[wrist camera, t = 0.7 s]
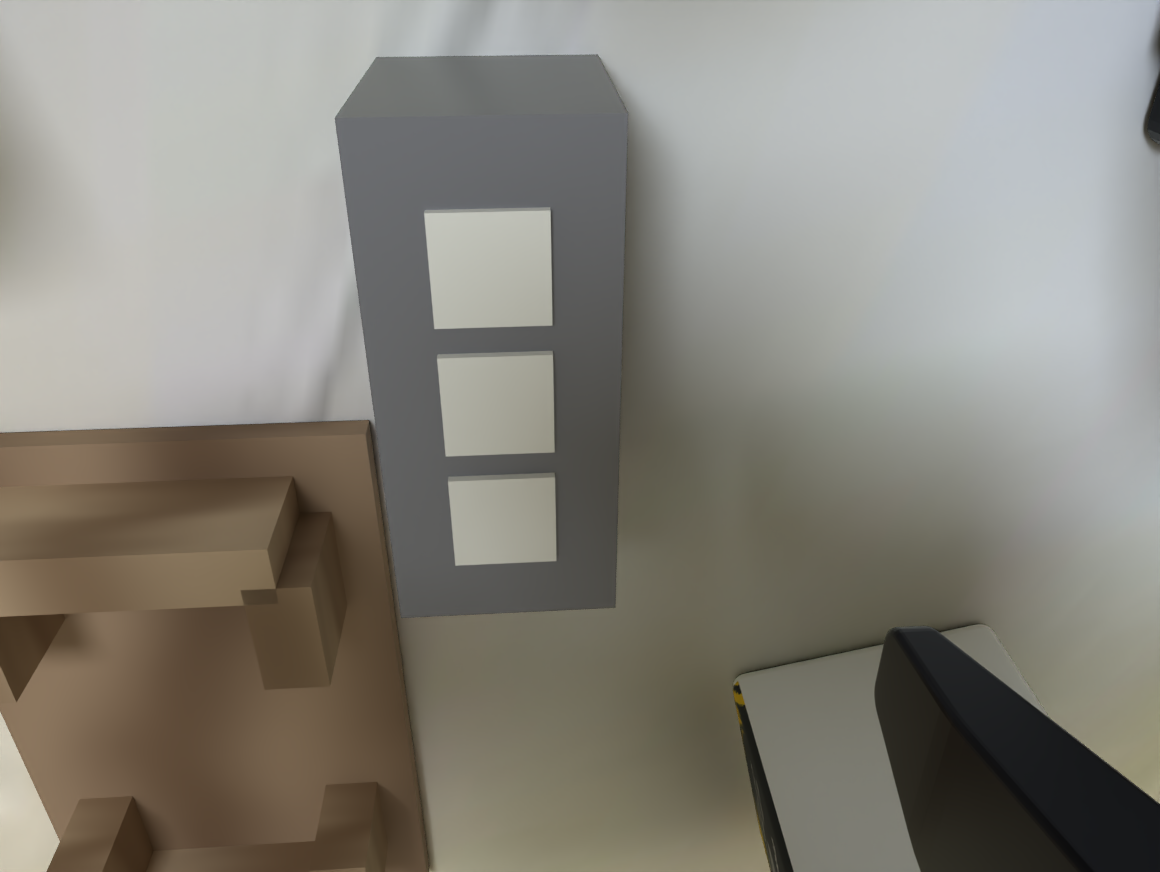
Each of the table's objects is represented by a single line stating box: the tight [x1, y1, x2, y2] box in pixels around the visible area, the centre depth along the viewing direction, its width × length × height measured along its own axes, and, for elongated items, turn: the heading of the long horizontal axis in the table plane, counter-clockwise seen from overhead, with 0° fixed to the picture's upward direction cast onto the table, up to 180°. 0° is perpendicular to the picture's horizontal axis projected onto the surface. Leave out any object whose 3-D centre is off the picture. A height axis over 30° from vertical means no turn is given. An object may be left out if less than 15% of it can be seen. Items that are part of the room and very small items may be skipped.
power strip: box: [335, 55, 628, 618], centre depth 17 cm, size 4×9×5 cm, turn 0°
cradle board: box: [0, 420, 429, 872], centre depth 23 cm, size 10×16×3 cm, turn 0°
